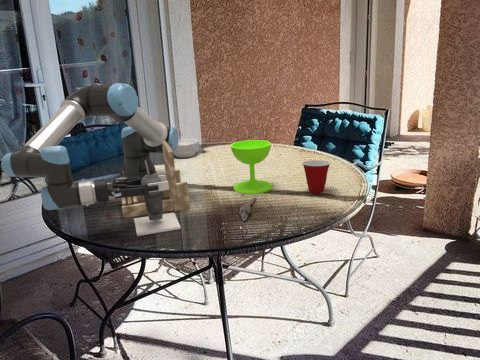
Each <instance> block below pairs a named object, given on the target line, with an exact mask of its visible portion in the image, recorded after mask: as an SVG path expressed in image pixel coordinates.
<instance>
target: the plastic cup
mask: <svg viewBox="0 0 480 360" xmlns="http://www.w3.org/2000/svg"><path fill="white" fill-rule="evenodd" d="M331 163H332V162H331V161H329V160H325V159H323V160H322V159H308V160H304V161H302V162H301V164H302V167H303V169H304V175H305V179H306V184H307V188H308V192H309V193H310V194H315V195H319V194H323V193H324V192H325V188H326V183H327V178H328V171H329V169H330V165H331Z"/></svg>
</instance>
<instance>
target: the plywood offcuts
mask: <svg viewBox="0 0 480 360" xmlns="http://www.w3.org/2000/svg"><path fill="white" fill-rule="evenodd" d="M127 200H128V203H126V201H125V198H122V204H121V205H122V206H127V205H134V204H139V203H138V202H137V198H136V196H134V197H133V203H132V202H131V197H127Z"/></svg>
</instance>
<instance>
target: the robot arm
mask: <svg viewBox="0 0 480 360" xmlns="http://www.w3.org/2000/svg"><path fill="white" fill-rule="evenodd" d="M90 117H109V118H111V119H112V120H114V121H115V122H117V123H121V124H122V123H124V124H126V125H127V126H125V127H123V128H122V130H121V131H120V132H121V133H120V135H121V136H120V137H121V143H122V150H123V155H124V156H123V158H124V162H123V168H122V176H123V177H124V178H122V179H114V180H112V183H108V184H107V179H106V178H101V179H94V181H93V180H85V181H79V182H78V181H77V182H74V181H73V175H72V174H73V173H72V169H71V163H70V157H69V153H68V150H67V147H65V146H63V145H59V144H60V143H61V142H62V140H63V139H64V138H66V136H67V135H68V134H69V133H70V132H71V130H72V129H73V128H74V127H75V126H76V125H77V124H80V123H82V122H84V121H85V120H86V119H87V118H90ZM178 140H179V133H178V129H177V127H174V126H167V125H165V124H164V123H163V122H160V121H156V120H155V119H154V118H152V117H151V116H150V115H149V114H148V113H147V112H146V111H144V109H143V108H141V107H140V106H139V96H138V95H137V91H136V90H135V88H133V86H131V85H130V84H127V83H121V82H120V83H119V82H117V83H107V84H105V83H103V84H87V85H85V86H83V87H80V88H78V89H77V90H75V91H73V92H72V93H71V94H70V95H68V96H67V97H66V98H65V99H64V100H63V101H62V102H61V103H60V105H59V109H58V110H57V111H56V112H55V113H54V114H53V115H52V116H51V117H50V118H49V119H48V120H47V121H46V122H45V123H44V125H42V126H41V127H40V129H39V130H37V132H35V134H34V135H33V136H31V138H30V139H29V140H28V141H27V142H26V143H25V144H24V145H23V146H22V147H21V148H20V149H18V151H17V152H13V151H12V152H9V153H6V154H4V155H3V157H2V159H1V163H0V166H1V170H2V172H3V173H4V174H5V175H6V176H9V177H16V178H45V182H46V185H45V186H43V187H41V190H40V195H41V203H42V205H43V206H42V207H43V208H44V209H45V210H47V211H53V210H64V209H71V208H75V207H82V206H83V207H84V206H86V207H89V205H95V203H97V204H103V203H109V201H110V197H114V199H115V200H118V199H121V198H125V197H134V196H144V195H147V196H148V195H149V192H156V191H163V190H169V184H168V181H166V174H162V175H161V174H159V175H158V176H159V177H160V178H161V180H162V182H157V183H150V184H148V185H141V180H142V178H143V177H144V176H145V175H146V174H148V173H147V169H146V164H145V160H146V162H147V166H148V171H149V173H154V174H157V172H156V167H155V164H154V162H153V160H152V158H151V155H150V154H153V153H154V154H163V148H162V141H166V142H167V144H168V145H169V146H170V148H171V149H172V151H173V152H175V151H176V149H177V146H178ZM125 177H127V178H125Z"/></svg>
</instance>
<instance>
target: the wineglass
mask: <svg viewBox="0 0 480 360" xmlns="http://www.w3.org/2000/svg"><path fill="white" fill-rule="evenodd" d="M271 145H272V142H270V141H269V140H263V139H248V140H242V141H241V140H240V141H236V142H233V143H231V144H230V149H231V152H232V155H233V156H234V157H235V159H236V160H237V161H239V162H241V163H242V164H245V165H249V177H250V179H248V180H244V181H241V182H237V184H235V185H234V186H233V191H234V190H235V191H234V192H236V193H238V192H239V194H242V193H245V194H246V195H257V194H262V193H267V192H269V191H271V190H272V189H273V188H274V186H273V184H272V183H270V182H269V181H267V180H263V179H256V169H255V165H257V164H259V163H261V162H263V161H265V159H266V158H267V157H268V155H269V153H270V151H271V148H272V147H271ZM245 194H244V195H245Z"/></svg>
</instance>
